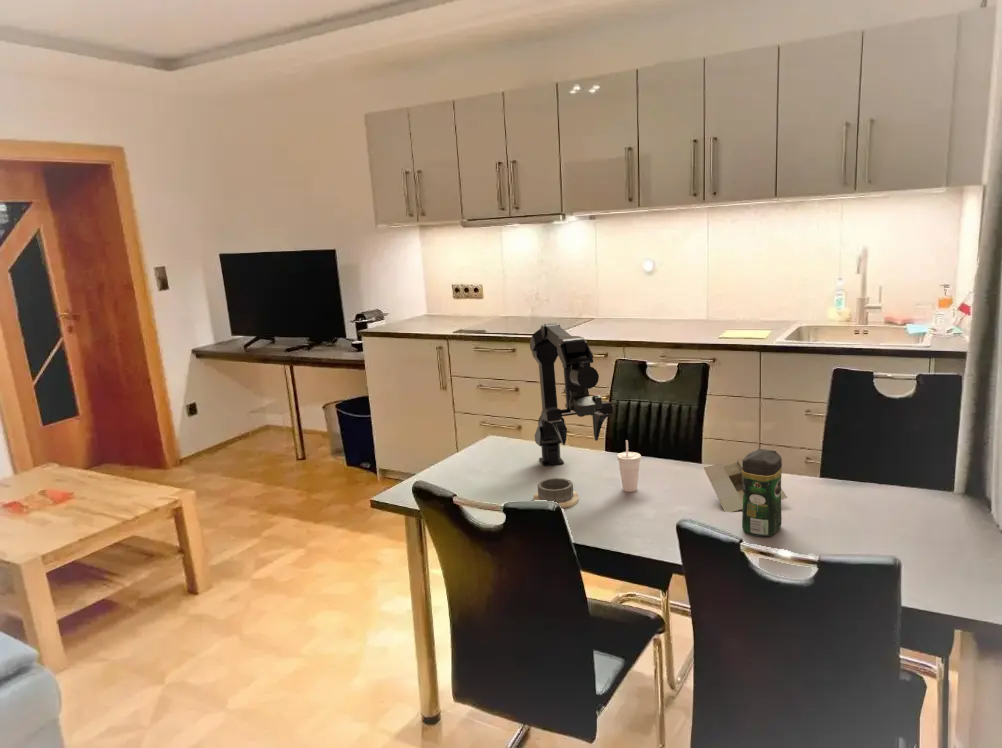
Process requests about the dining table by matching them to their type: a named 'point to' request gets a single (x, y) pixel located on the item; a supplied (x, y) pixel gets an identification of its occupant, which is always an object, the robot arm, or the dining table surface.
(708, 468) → the open cardboard box
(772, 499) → the coffee jar
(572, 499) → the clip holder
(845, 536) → the dining table surface
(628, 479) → the smoothie
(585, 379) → the robot arm
